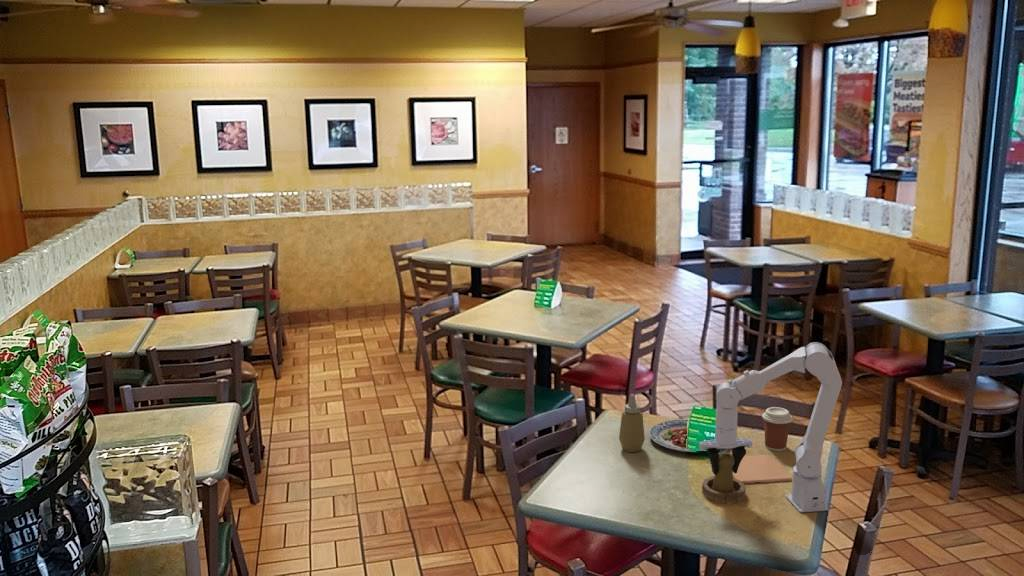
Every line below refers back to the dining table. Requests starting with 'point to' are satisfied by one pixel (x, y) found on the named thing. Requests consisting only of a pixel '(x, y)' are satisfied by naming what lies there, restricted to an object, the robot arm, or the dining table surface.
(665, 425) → the ceramic plate
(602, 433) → the dining table surface
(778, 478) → the coaster
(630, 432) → the squeeze bottle
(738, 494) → the holder ring
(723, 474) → the cork
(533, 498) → the dining table surface
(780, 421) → the coffee cup
